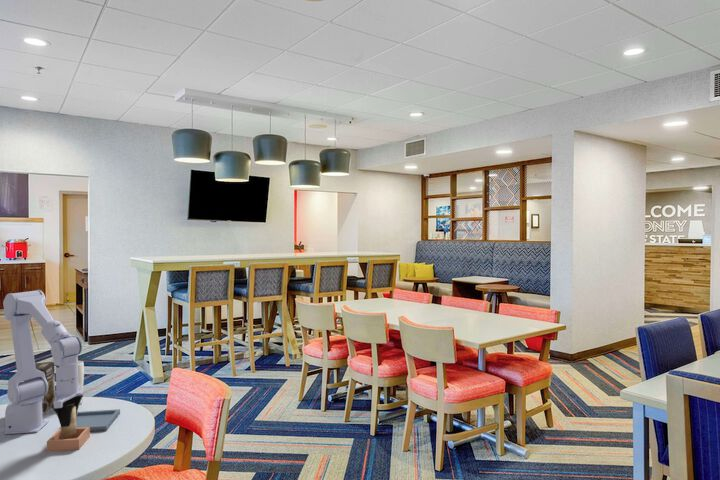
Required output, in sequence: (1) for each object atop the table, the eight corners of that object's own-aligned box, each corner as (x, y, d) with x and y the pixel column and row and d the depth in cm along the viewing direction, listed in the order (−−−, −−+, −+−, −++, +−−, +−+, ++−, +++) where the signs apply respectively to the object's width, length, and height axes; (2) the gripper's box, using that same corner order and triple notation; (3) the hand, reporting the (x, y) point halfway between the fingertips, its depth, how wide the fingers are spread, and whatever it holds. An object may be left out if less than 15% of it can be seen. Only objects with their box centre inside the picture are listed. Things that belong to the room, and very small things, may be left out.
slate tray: (58, 433, 157) (58, 429, 157) (76, 416, 171) (76, 411, 171) (106, 430, 159) (106, 426, 159) (120, 413, 173) (120, 409, 173)
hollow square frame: (47, 451, 145) (46, 441, 145) (59, 438, 154) (59, 429, 153) (79, 449, 147) (78, 439, 146) (89, 436, 155) (89, 427, 155)
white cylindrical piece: (89, 401, 185) (87, 360, 184) (76, 408, 178) (75, 366, 177) (71, 400, 185) (70, 360, 185) (59, 407, 179) (57, 365, 178)
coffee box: (44, 415, 171) (43, 369, 171) (24, 416, 170) (22, 369, 170) (56, 405, 180) (55, 361, 180) (36, 406, 179) (35, 362, 179)
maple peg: (58, 439, 148) (58, 411, 147) (64, 433, 152) (63, 405, 151) (73, 438, 148) (72, 410, 148) (78, 432, 152) (77, 405, 152)
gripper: (72, 385, 143) (73, 432, 143) (90, 370, 157) (91, 412, 158) (45, 386, 141) (46, 434, 142) (66, 371, 156) (67, 414, 156)
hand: (68, 423), depth 150 cm, fingers closed on maple peg, 4 cm apart
